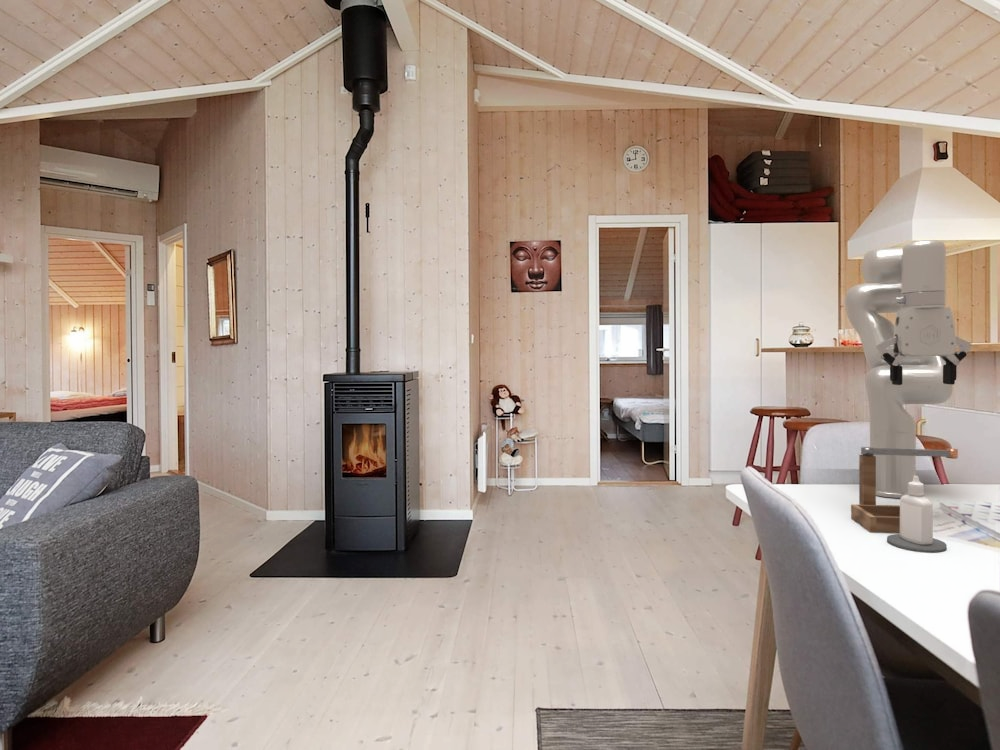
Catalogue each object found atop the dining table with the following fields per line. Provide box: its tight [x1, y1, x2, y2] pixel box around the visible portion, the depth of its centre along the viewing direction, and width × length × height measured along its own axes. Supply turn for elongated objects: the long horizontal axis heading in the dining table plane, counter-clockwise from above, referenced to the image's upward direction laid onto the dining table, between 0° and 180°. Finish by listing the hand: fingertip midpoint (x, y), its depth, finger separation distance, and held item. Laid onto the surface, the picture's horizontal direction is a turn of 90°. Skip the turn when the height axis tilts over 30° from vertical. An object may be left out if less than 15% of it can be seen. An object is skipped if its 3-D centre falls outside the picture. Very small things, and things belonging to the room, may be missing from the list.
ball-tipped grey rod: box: [860, 446, 959, 460], centre depth 130 cm, size 18×2×2 cm, turn 71°
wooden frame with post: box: [850, 454, 900, 534], centre depth 126 cm, size 16×10×13 cm, turn 169°
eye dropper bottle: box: [899, 475, 934, 545], centre depth 111 cm, size 4×6×12 cm
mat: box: [886, 533, 947, 553], centre depth 111 cm, size 9×9×1 cm
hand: (922, 384), depth 126 cm, fingers open, 9 cm apart
